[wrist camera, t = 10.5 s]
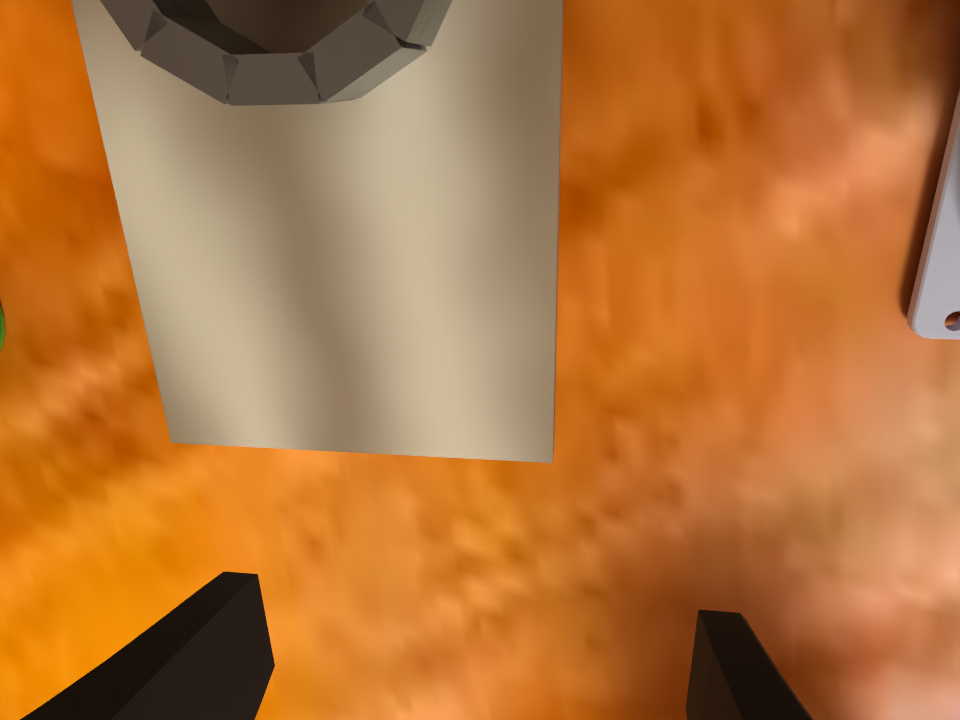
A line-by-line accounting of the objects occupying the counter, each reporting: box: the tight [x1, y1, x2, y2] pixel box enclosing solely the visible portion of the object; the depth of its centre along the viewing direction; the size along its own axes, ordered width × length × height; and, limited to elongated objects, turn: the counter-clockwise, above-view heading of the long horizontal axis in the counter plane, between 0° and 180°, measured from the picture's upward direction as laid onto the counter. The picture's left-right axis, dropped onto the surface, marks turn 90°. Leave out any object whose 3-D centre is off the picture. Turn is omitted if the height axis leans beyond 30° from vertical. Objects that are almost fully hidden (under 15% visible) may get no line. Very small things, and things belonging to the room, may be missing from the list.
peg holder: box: [71, 0, 564, 463], centre depth 16 cm, size 12×22×4 cm, turn 1°
